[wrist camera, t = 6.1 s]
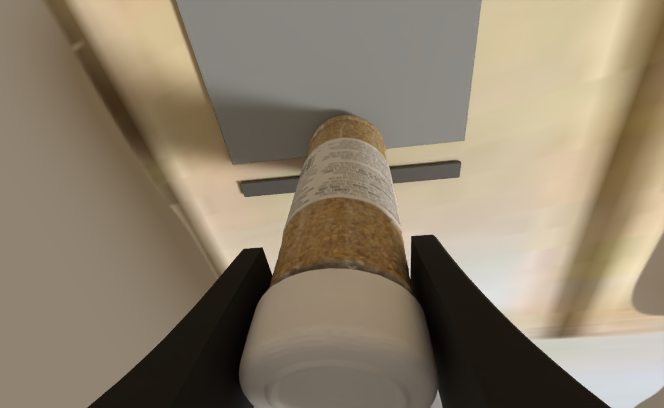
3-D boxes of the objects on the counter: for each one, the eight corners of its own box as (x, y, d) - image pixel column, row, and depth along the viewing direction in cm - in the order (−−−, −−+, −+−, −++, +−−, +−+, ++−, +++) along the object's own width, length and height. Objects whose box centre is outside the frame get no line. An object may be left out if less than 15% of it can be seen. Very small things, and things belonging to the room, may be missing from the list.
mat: (462, 138, 18) (464, 140, 18) (234, 161, 19) (232, 164, 19) (489, -94, 12) (493, -96, 12) (167, -36, 14) (162, -37, 14)
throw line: (457, 174, 19) (459, 177, 19) (246, 194, 21) (244, 196, 21) (459, 160, 19) (460, 163, 19) (241, 182, 20) (240, 184, 20)
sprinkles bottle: (353, 196, 20) (353, 457, 8) (293, 157, 18) (200, 404, 7) (403, 142, 17) (491, 400, 6) (338, 93, 16) (305, 309, 5)
